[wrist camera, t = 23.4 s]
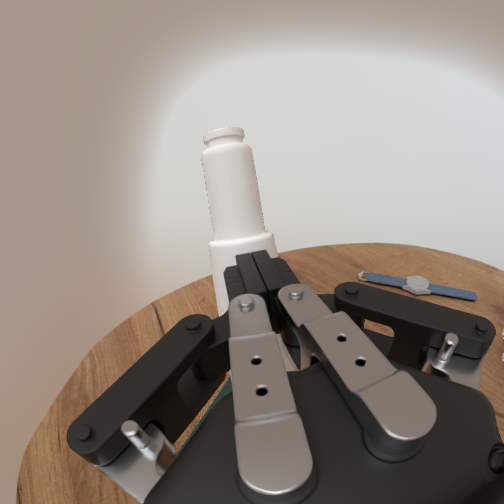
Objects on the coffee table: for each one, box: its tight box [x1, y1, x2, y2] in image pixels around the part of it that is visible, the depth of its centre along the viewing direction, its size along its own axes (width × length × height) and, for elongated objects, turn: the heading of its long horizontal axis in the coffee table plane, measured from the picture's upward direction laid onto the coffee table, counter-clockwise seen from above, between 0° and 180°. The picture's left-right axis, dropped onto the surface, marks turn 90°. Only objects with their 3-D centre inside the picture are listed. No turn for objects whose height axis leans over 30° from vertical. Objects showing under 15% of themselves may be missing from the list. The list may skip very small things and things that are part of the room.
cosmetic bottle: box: [202, 127, 295, 381], centre depth 16 cm, size 6×6×22 cm
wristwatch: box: [358, 271, 477, 300], centre depth 34 cm, size 4×20×1 cm, turn 56°
